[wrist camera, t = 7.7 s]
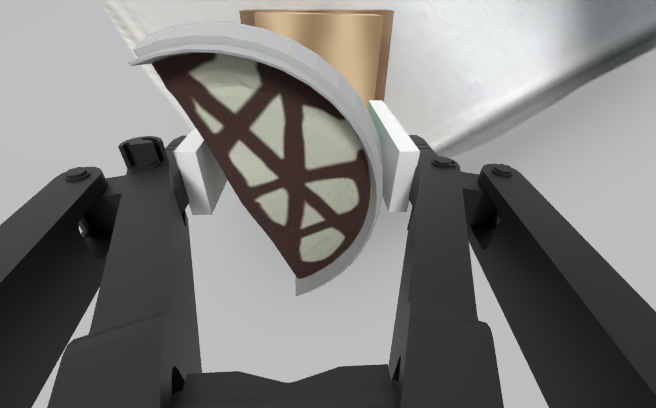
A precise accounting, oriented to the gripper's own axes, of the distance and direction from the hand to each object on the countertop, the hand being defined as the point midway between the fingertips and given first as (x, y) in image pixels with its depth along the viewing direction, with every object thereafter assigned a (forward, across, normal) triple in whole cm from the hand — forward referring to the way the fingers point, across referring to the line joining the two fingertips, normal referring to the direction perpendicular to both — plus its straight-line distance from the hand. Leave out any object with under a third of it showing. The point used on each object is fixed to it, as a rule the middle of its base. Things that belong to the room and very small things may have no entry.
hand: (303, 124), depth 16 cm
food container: (+3, 0, 0) cm, 4 cm away
